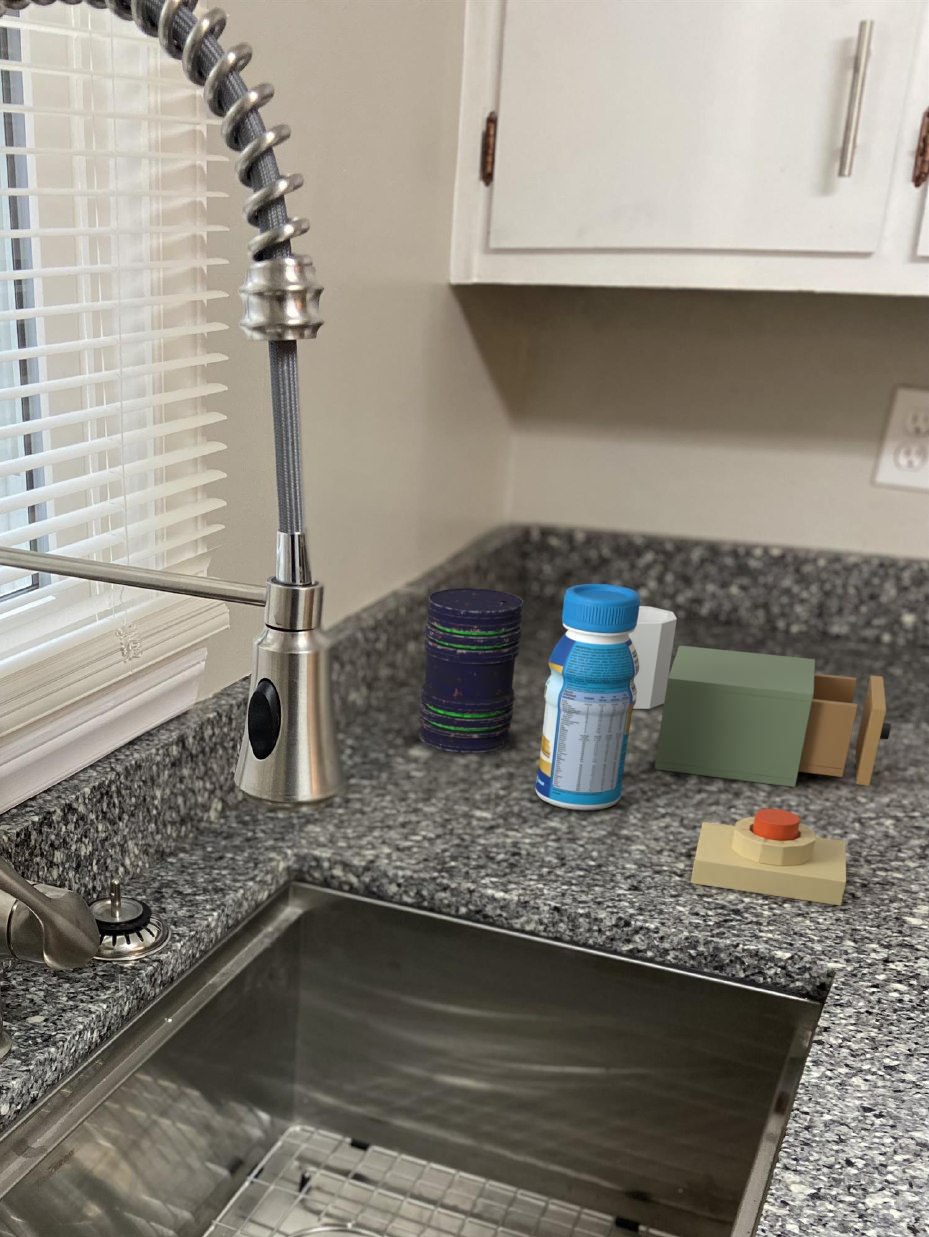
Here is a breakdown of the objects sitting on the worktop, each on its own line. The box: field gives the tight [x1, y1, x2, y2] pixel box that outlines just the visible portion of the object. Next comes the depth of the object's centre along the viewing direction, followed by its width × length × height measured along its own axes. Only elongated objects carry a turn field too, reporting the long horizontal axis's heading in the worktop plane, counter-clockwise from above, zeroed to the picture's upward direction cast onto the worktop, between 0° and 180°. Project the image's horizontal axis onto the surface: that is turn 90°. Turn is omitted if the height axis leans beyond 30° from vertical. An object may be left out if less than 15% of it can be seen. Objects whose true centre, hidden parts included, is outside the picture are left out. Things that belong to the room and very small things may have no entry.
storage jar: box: [418, 587, 524, 754], centre depth 153 cm, size 10×10×15 cm
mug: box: [628, 605, 678, 710], centre depth 167 cm, size 12×9×10 cm
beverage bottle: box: [534, 583, 641, 811], centre depth 136 cm, size 8×8×20 cm
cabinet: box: [653, 645, 816, 788], centre depth 149 cm, size 14×13×10 cm
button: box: [752, 808, 801, 841], centre depth 123 cm, size 4×4×2 cm
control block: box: [690, 816, 847, 906], centre depth 124 cm, size 12×9×4 cm
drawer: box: [798, 673, 892, 786], centre depth 146 cm, size 14×11×8 cm
